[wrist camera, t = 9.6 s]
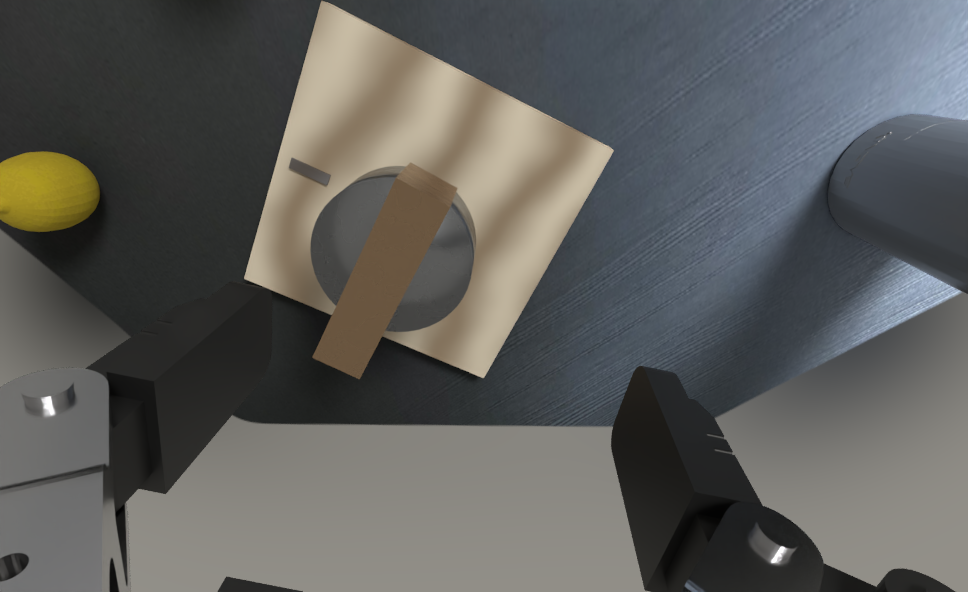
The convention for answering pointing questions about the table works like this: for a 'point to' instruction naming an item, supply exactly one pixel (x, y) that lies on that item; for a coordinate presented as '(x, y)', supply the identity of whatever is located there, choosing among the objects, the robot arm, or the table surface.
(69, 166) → the lemon
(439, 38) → the table surface
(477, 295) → the mounting board
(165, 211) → the table surface
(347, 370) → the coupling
